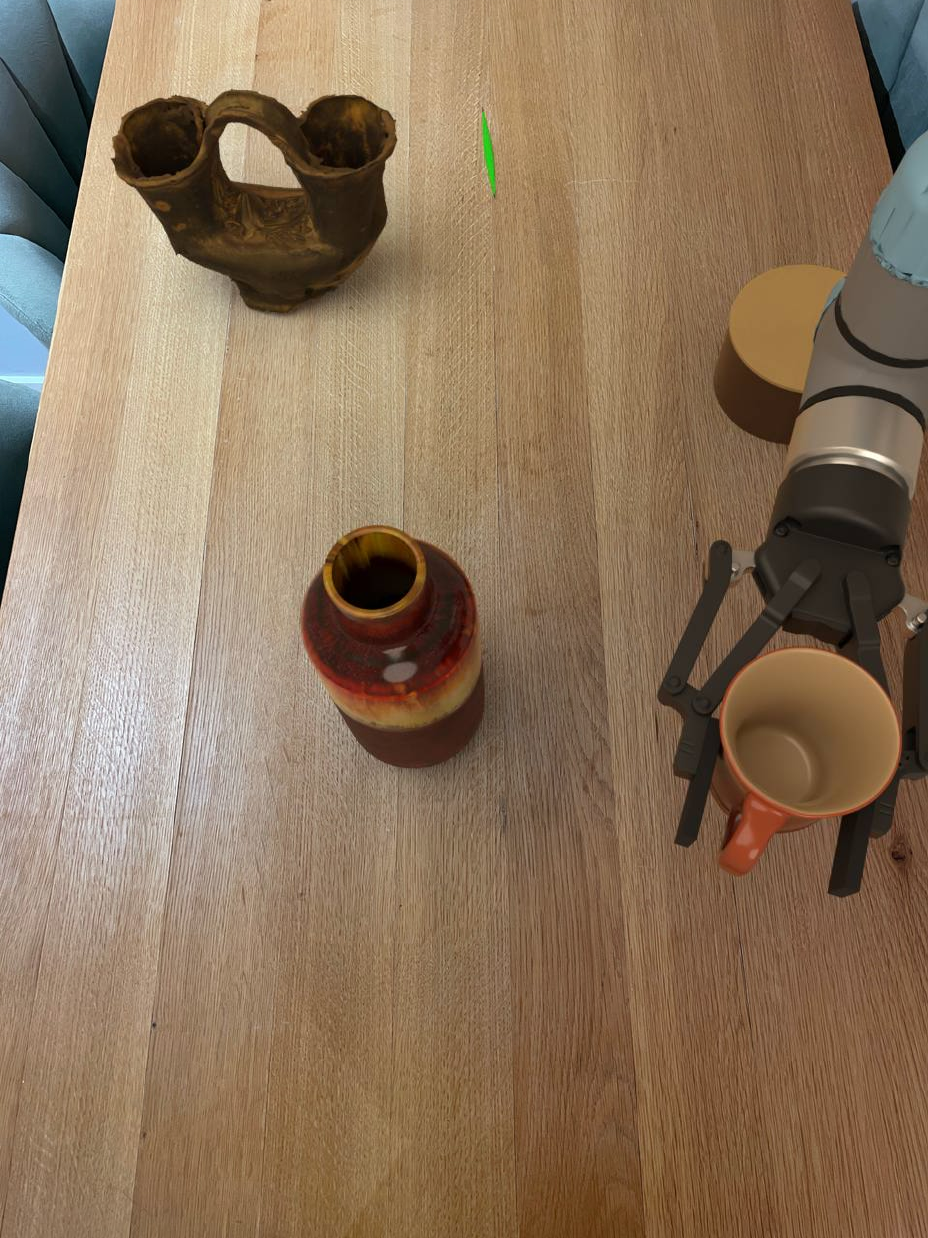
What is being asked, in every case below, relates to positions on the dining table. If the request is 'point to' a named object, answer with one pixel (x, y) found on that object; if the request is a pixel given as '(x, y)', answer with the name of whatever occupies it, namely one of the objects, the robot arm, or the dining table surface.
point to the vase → (397, 645)
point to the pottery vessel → (264, 189)
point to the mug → (799, 748)
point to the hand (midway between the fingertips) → (763, 866)
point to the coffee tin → (771, 348)
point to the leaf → (488, 153)
